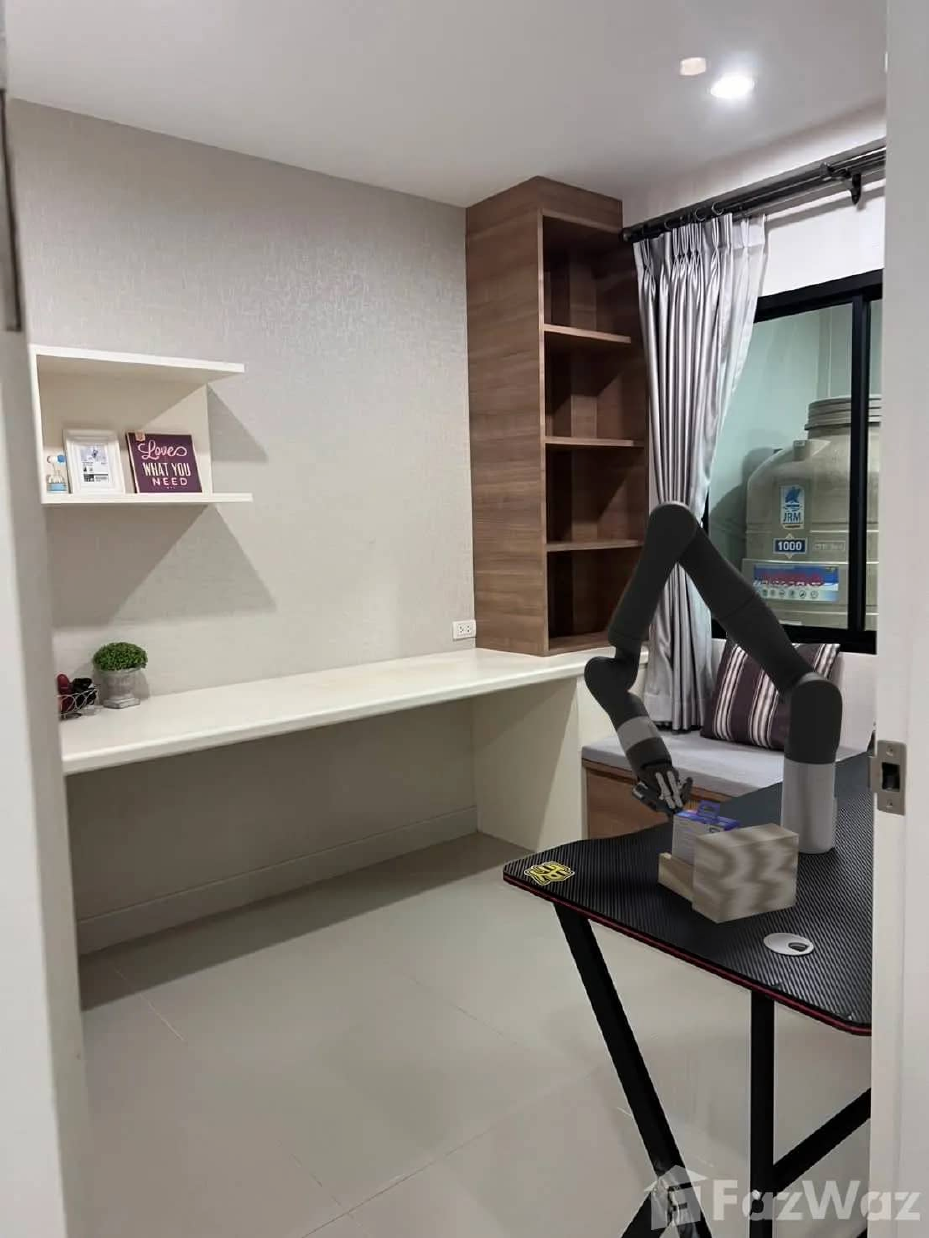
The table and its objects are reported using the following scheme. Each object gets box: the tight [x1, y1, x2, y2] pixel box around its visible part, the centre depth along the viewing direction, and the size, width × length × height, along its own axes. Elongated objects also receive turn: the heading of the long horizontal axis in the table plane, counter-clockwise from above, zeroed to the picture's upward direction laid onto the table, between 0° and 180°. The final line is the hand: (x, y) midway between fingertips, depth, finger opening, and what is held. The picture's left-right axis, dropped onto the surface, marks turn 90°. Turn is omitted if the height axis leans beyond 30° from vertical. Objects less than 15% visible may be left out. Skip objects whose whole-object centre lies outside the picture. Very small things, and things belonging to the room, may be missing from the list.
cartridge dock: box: [658, 822, 799, 924], centre depth 154 cm, size 16×17×12 cm
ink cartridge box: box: [671, 799, 740, 867], centre depth 157 cm, size 10×6×14 cm, turn 46°
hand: (683, 829), depth 163 cm, fingers closed
